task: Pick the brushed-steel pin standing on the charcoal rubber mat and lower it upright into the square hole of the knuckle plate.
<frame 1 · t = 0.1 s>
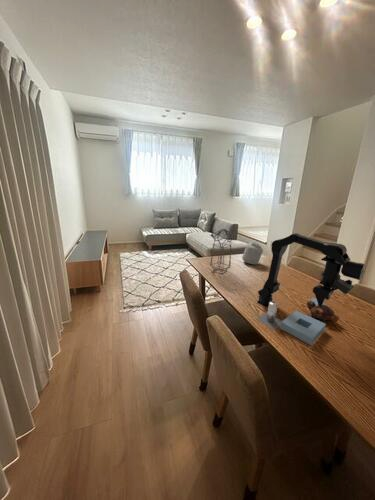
hand: (323, 302, 95), 15 cm above the table, fingers open, 9 cm apart
decorative turtle: (320, 318, 108), on the table
rubber mat: (270, 321, 104), on the table
jar: (252, 263, 186), on the table
knuckle plate: (301, 330, 99), on the table
smartphone: (319, 306, 121), on the table
geometric lantern: (220, 271, 166), on the table
steel pin: (270, 320, 104), resting on rubber mat
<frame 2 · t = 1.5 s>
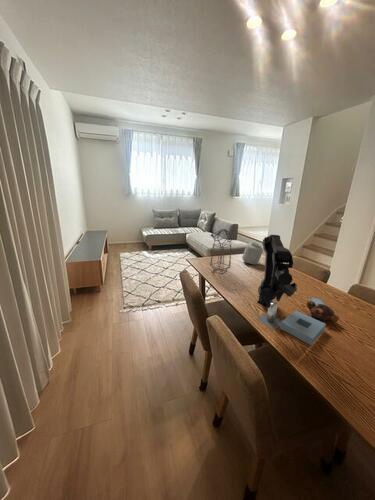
hand: (273, 304, 102), 10 cm above the table, fingers open, 9 cm apart
nothing on the table moved.
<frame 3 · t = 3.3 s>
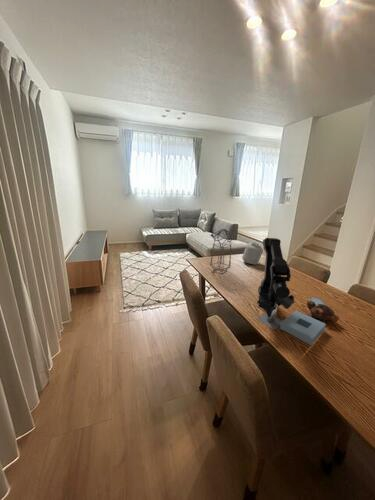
hand: (271, 315, 103), 4 cm above the table, fingers closed on steel pin, 4 cm apart
steel pin: (270, 320, 104), resting on rubber mat, touching gripper
everything else where it was.
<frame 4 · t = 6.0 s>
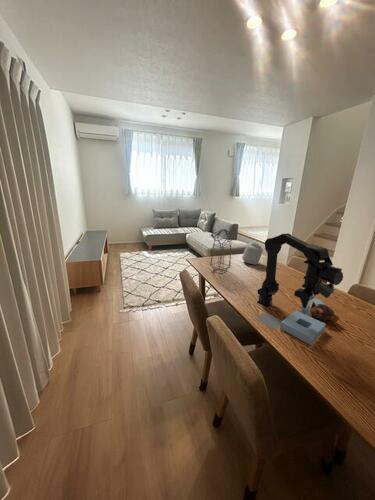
hand: (306, 306, 95), 13 cm above the table, fingers closed on steel pin, 4 cm apart
steel pin: (305, 312, 96), point 10 cm above the table, touching gripper
everything else where it was.
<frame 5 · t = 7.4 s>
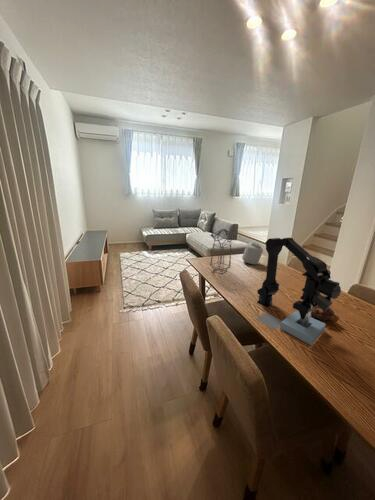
hand: (304, 317, 97), 7 cm above the table, fingers closed on steel pin, 4 cm apart
steel pin: (303, 322, 97), point 4 cm above the table, touching gripper
everything else where it was.
when the fingers open (5 cm above the table, at t = 8.7 s): steel pin drops 2 cm, resting in knuckle plate.
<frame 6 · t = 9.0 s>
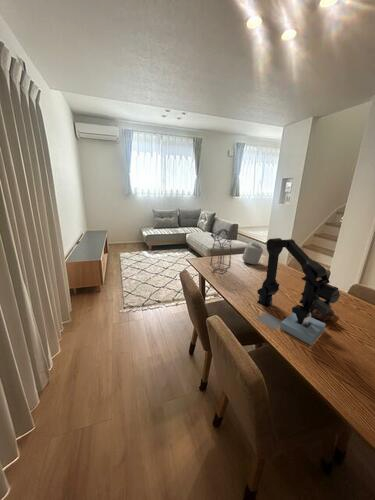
hand: (303, 321, 97), 5 cm above the table, fingers open, 7 cm apart
steel pin: (301, 330, 99), resting in knuckle plate
everything else where it was.
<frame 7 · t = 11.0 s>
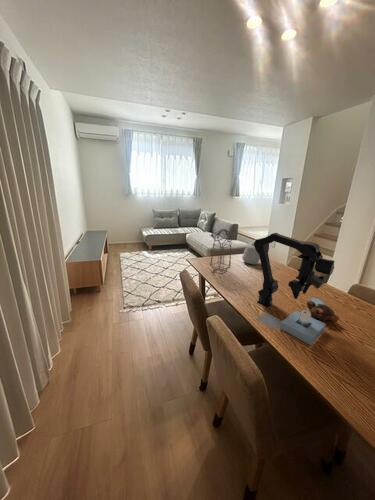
hand: (299, 296, 105), 13 cm above the table, fingers open, 9 cm apart
nothing on the table moved.
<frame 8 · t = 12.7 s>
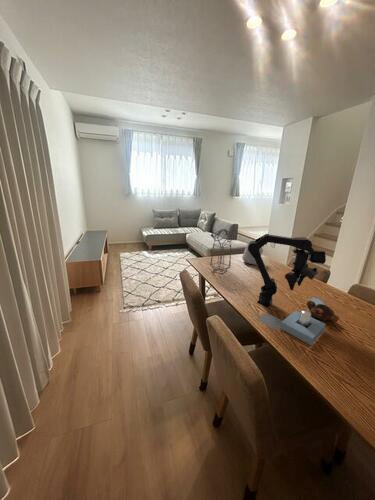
hand: (295, 287, 113), 13 cm above the table, fingers open, 9 cm apart
nothing on the table moved.
at the end: steel pin 0.0 cm off-centre on the knuckle plate, point 0.0 cm above the knuckle plate's base; steel pin tilted 0°; the gripper is holding nothing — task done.
